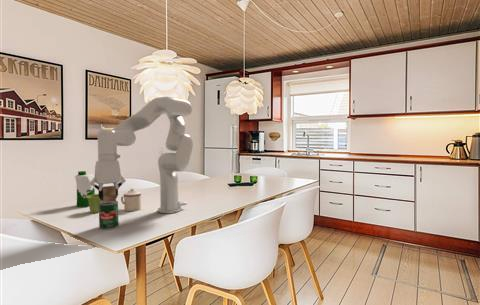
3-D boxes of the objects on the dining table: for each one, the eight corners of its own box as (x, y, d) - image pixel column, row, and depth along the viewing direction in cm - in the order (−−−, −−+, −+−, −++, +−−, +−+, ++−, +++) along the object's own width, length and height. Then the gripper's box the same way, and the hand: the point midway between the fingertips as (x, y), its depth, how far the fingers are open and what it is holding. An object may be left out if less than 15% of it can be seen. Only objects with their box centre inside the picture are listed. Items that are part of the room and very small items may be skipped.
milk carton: (84, 203, 170) (83, 170, 169) (98, 203, 168) (97, 170, 167) (73, 206, 161) (72, 172, 160) (87, 207, 159) (87, 172, 158)
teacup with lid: (144, 208, 158) (144, 187, 158) (134, 212, 150) (134, 190, 149) (126, 206, 162) (126, 186, 161) (115, 210, 153) (115, 189, 153)
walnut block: (113, 198, 128) (112, 185, 127) (116, 200, 124) (115, 187, 123) (101, 200, 125) (100, 186, 124) (103, 202, 121) (103, 188, 120)
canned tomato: (115, 223, 130) (114, 199, 130) (121, 227, 125) (120, 202, 124) (96, 226, 125) (96, 202, 125) (102, 230, 119) (101, 205, 119)
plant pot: (98, 214, 145) (97, 197, 145) (82, 213, 147) (82, 197, 147) (110, 209, 154) (109, 194, 154) (95, 209, 156) (94, 193, 156)
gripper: (125, 156, 131) (126, 194, 132) (84, 158, 121) (85, 199, 122) (130, 157, 126) (130, 197, 127) (87, 159, 115) (88, 202, 116)
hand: (108, 198), depth 124 cm, fingers closed on walnut block, 5 cm apart
